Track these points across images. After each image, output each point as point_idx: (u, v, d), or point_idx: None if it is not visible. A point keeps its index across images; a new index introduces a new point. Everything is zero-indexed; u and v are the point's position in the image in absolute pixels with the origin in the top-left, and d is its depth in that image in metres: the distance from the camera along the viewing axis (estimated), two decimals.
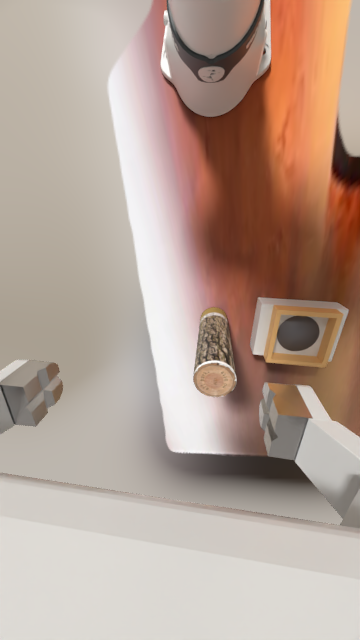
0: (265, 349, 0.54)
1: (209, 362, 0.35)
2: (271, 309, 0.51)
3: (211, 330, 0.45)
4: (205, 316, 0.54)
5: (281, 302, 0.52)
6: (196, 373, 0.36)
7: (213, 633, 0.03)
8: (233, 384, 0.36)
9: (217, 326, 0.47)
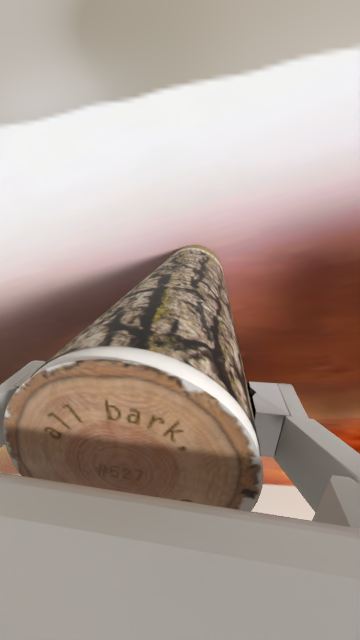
0: None
1: None
2: None
3: None
4: (218, 262, 0.23)
5: None
6: (162, 381, 0.05)
7: (213, 633, 0.03)
8: None
9: None
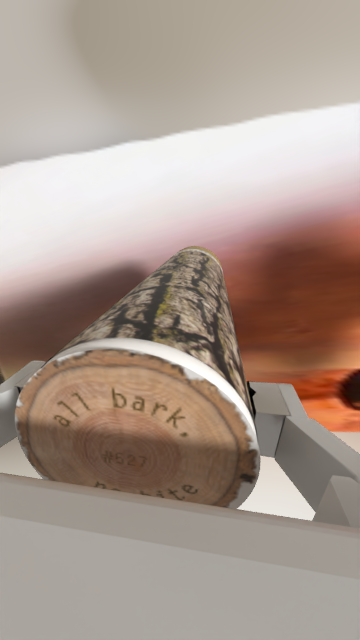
0: None
1: None
2: None
3: None
4: (217, 263, 0.23)
5: None
6: (165, 370, 0.05)
7: (213, 633, 0.03)
8: None
9: None
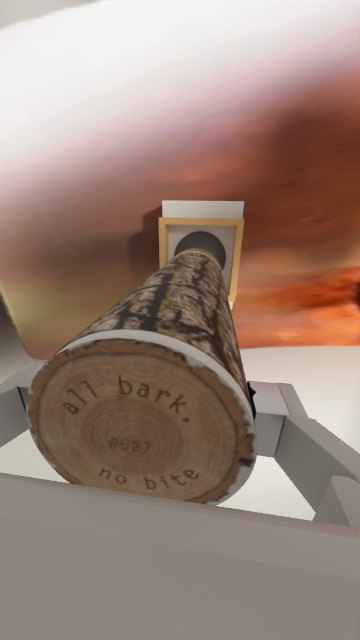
0: None
1: None
2: (235, 216, 0.37)
3: None
4: (217, 264, 0.24)
5: None
6: (168, 357, 0.05)
7: (213, 633, 0.03)
8: None
9: None
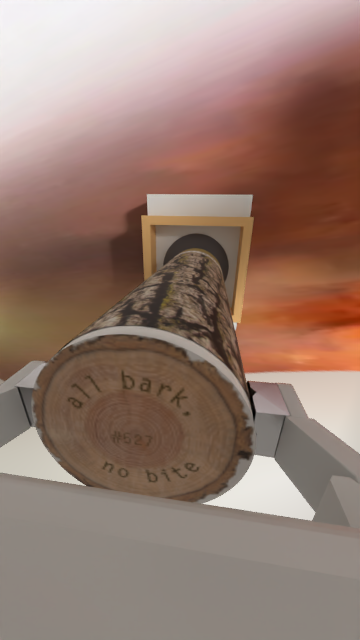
0: (162, 216, 0.29)
1: None
2: (241, 215, 0.29)
3: None
4: (217, 264, 0.24)
5: None
6: (170, 352, 0.06)
7: (213, 633, 0.03)
8: None
9: None
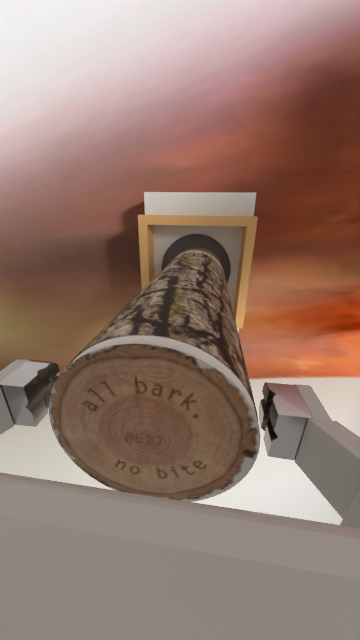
0: (160, 215, 0.27)
1: None
2: (243, 214, 0.27)
3: None
4: (219, 264, 0.24)
5: None
6: (180, 360, 0.06)
7: (213, 633, 0.03)
8: (140, 491, 0.09)
9: None
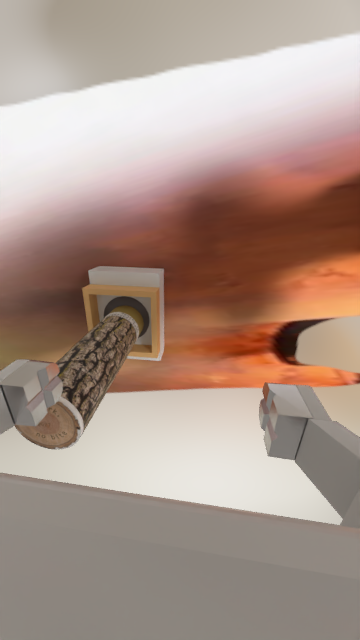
0: (99, 285, 0.42)
1: (77, 416, 0.21)
2: (153, 285, 0.41)
3: (119, 355, 0.31)
4: (132, 321, 0.39)
5: (161, 295, 0.44)
6: None
7: (213, 633, 0.03)
8: (47, 445, 0.23)
9: (125, 355, 0.34)
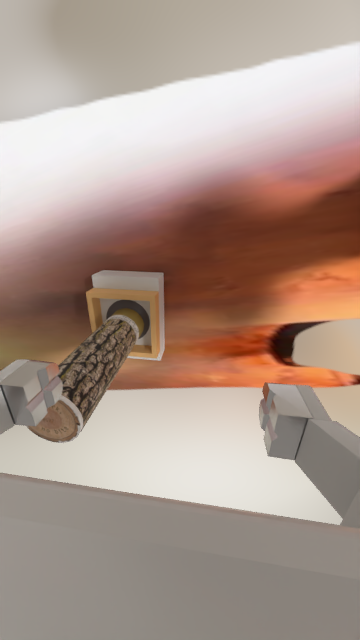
0: (101, 289, 0.44)
1: (77, 413, 0.23)
2: (152, 289, 0.44)
3: (118, 357, 0.33)
4: (132, 324, 0.41)
5: (160, 298, 0.46)
6: None
7: (213, 633, 0.03)
8: (51, 439, 0.25)
9: (125, 356, 0.36)
